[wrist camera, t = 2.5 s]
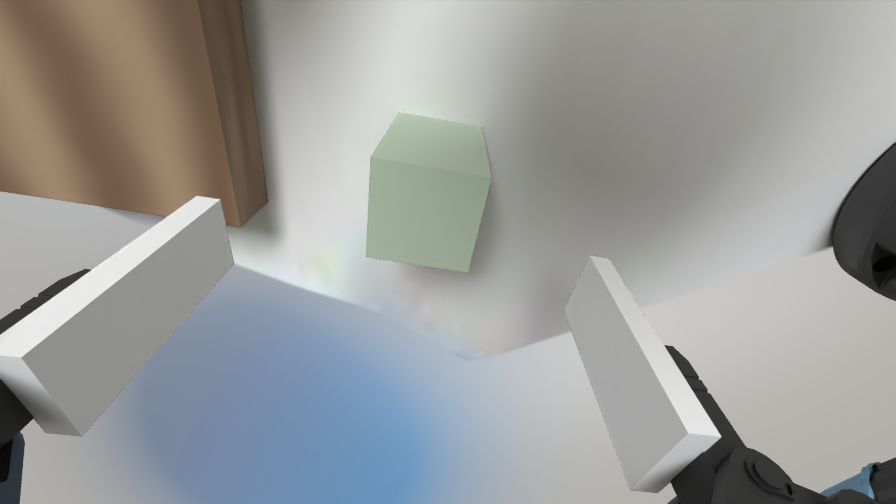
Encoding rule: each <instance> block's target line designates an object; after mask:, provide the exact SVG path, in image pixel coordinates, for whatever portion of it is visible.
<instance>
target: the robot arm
mask: <svg viewBox="0 0 896 504" xmlns="http://www.w3.org/2000/svg"><path fill="white" fill-rule="evenodd" d="M833 249H834V254H835V257H836V260H837V261H838V263H839V265H840V266H841V267H842V269H843V270H844V271H845V272H847V273H848V274H849V275H851V276H852V277H854V278H855V279H857V280H858V281H860V282H861V283H863V284H865V285H866V286H867V287H869V288H870V289H872V290H874V291H875V292H877V293H879V294H881V295H883V296H885V297H887V298H889V299H892V300H895V301H896V145H894V146H893V147H892V148H891V149H890V150H889V151H888V152H887V153H886V154H885V155H884V156H883V157H882V158H881V159H880V160H879V161H878V162H877V163H876V164H875V165H874V166H873V167H872V168H871V169H870V170H869V171H868V172H867V173H866V175H865V176H864V177H863V178H862V179H861V181H860V182H859V183H858V185H857V186H856V187H855V189H854V190H853V192H852V193H851V195H850V196H849V198H848V199H847V201H846V203H845V204H844V206H843V208H842V210H841V212H840V215H839V217H838V220H837V223H836V226H835V230H834V235H833ZM233 265H234V261H233V256H232V252H231V247H230V242H229V238H228V233H227V228H226V224H225V219H224V214H223V210H222V205H221V200H220V199H215V198H208V197H201V196H196V197H194V198H193V199H192V200H190V201H189V202H187V203H186V204H184V205H183V206H182V207H180V208H179V209H177V210H176V211H175V212H173V213H172V214H170V215H169V216H167V217H166V218H165V219H163V220H162V221H160V222H159V223H158V224H156V225H155V226H153V227H152V228H151V229H149V230H148V231H146V232H145V233H144V234H142V235H141V236H139V237H138V238H137V239H135V240H134V241H132V242H131V243H129V244H128V245H126V246H125V247H124V248H122V249H121V250H119V251H118V252H117V253H115V254H114V255H112V256H111V257H110V258H108V259H107V260H105V261H104V262H102V263H101V264H100V265H98V266H97V267H95V268H94V269H93V270H89V269H84V270H82V271H79V272H77V273H75V274H72V275H70V276H68V277H65V278H63V279H60V280H59V281H57V282H56V283H54V284H53V285H51V286H50V287H48V288H47V289H45V290H44V291H42V292H41V293H39V295H38V297H33V298H32V299H30V300H29V301H27V302H26V303H24V304H23V305H21V308H20V309H16V310H14V311H13V312H11V313H10V314H8V315H7V316H5V317H4V318H2V319H1V320H0V504H19V503H20V492H21V481H22V469H23V456H24V446H25V442H24V438H23V435H22V434H21V433H20V431H21V430H22V429H23V428H24V427H25V426H26V425H27V424H28V423H29V422H30V421H31V420H32V419H34V420H35V421H36V422H37V423H38V424H39V425H40V427H41V428H42V429H43V430H44V431H45V432H46V433H51V434H61V435H71V436H83V435H84V434H85V433H86V432H87V431H88V430H89V429H90V427H91V426H92V425H93V424H94V423H95V422H96V421H97V419H98V418H99V417H100V416H101V415H102V414H103V413H104V412H105V410H106V409H107V408H108V407H109V406H110V405H111V404H112V402H113V401H114V400H115V399H116V398H117V397H118V396H119V394H120V393H121V392H122V391H123V390H124V389H125V388H126V387H127V385H128V384H129V383H130V382H131V381H132V380H133V379H134V377H135V376H136V375H137V374H138V373H139V372H140V371H141V369H142V368H143V367H144V366H145V365H146V364H147V362H148V361H149V360H150V359H151V358H152V357H153V356H154V355H155V354H156V352H157V351H158V350H159V349H160V348H161V347H162V346H163V344H164V343H165V342H166V341H167V340H168V339H169V338H170V337H171V335H172V334H173V333H174V332H175V331H176V330H177V328H178V327H179V326H180V325H181V324H182V323H183V322H184V321H185V319H186V318H187V317H188V316H189V315H190V314H191V313H192V311H193V310H194V309H195V308H196V307H197V306H198V305H199V304H200V302H201V301H202V300H203V299H204V298H205V297H206V296H207V294H208V293H209V292H210V291H211V290H212V289H213V288H214V287H215V285H216V284H217V283H218V282H219V281H220V280H221V279H222V277H223V276H224V275H225V274H226V273H227V272H228V270H229V269H230V268H231V267H232V266H233ZM564 312H565V315H566V317H567V320H568V323H569V326H570V328H571V331H572V334H573V336H574V339H575V342H576V345H577V347H578V350H579V353H580V355H581V358H582V361H583V363H584V367H585V369H586V372H587V375H588V377H589V380H590V383H591V386H592V388H593V391H594V394H595V396H596V399H597V402H598V404H599V407H600V410H601V413H602V416H603V418H604V421H605V424H606V427H607V429H608V432H609V435H610V437H611V440H612V443H613V446H614V448H615V451H616V454H617V456H618V459H619V462H620V465H621V467H622V470H623V473H624V476H625V478H626V481H627V484H628V487H629V489H630V490H632V491H643V492H652V493H658V492H659V491H661V490H662V489H663V488H664V487H665V486H666V485H668V484H669V483H670V482H671V484H672V486H673V488H674V491H675V493H676V495H677V496H676V497H675V498H674V499H672V500H671V501H670V502H669V503H668V504H896V458H893V459H891V460H888V461H886V462H883V463H880V462H876V463H870V464H869V465H867V466H866V467H863V468H862V470H861V473H859V474H857V475H855V476H853V477H852V478H849V479H847V480H845V481H843V482H841V483H839V484H836V485H834V486H832V487H830V488H828V489H826V490H824V491H823V492H821V493H820V494H819V493H817V492H814V491H812V490H809V489H807V488H804V487H802V486H799V485H797V484H795V483H793V482H792V480H791V478H790V477H789V476H788V475H787V474H786V473H785V472H784V471H783V470H782V469H781V468H780V466H779V465H777V464H776V463H775V462H773V461H772V460H771V459H769V458H768V457H767V456H765V455H763V454H762V453H760V452H757V451H756V450H754V449H750V448H747V447H746V446H745V445H744V444H743V442H742V440H741V439H740V437H739V436H738V434H737V433H736V431H735V430H734V428H733V427H732V425H731V424H730V422H729V421H728V419H727V418H726V417H725V415H724V414H723V412H722V411H721V409H720V408H719V406H718V405H717V403H716V402H715V400H714V399H713V397H712V396H711V394H709V393H708V392H707V391H708V390H707V388H706V387H705V386H704V384H703V382H702V381H701V380H699V376H698V375H697V373H696V372H695V370H694V369H693V367H692V366H691V364H690V363H689V361H688V360H687V359H686V358H685V357H683V356H682V355H681V354H680V353H679V352H678V351H677V350H676V349H675V348H674V347H673V346H666V345H663V343H662V342H661V340H660V338H659V337H658V335H657V333H656V332H655V330H654V329H653V327H652V326H651V324H650V322H649V321H648V319H647V318H646V316H645V314H644V313H643V311H642V310H641V308H640V306H639V305H638V303H637V302H636V300H635V298H634V297H633V295H632V294H631V292H630V291H629V289H628V287H627V286H626V284H625V283H624V281H623V279H622V278H621V276H620V275H619V273H618V271H617V270H616V268H615V267H614V265H613V264H612V262H611V260H610V259H608V258H601V257H595V256H589V258H588V260H587V262H586V265H585V267H584V269H583V271H582V273H581V275H580V277H579V279H578V281H577V283H576V285H575V287H574V290H573V292H572V294H571V296H570V298H569V300H568V302H567V304H566V306H565V308H564Z"/></svg>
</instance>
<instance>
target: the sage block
mask: <svg viewBox="0 0 896 504" xmlns="http://www.w3.org/2000/svg"><path fill="white" fill-rule="evenodd" d="M491 179H492V176H491V170H490V165H489V160H488V155H487V150H486V145H485V139H484V134H483V129H482V127H478V126H473V125H467V124H462V123H456V122H451V121H445V120H440V119H434V118H429V117H423V116H418V115H412V114H407V113H401V112H399V113H398V115H397V116H396V118H395V120H394V121H393V123H392V124H391V126H390V127H389V129H388V131H387V132H386V134H385V135H384V137H383V138H382V140H381V141H380V143H379V145H378V146H377V148H376V149H375V151H374V152H373V154H372V156H371V161H370V182H369V204H368V225H367V247H366V257H368V258H374V259H381V260H387V261H394V262H401V263H407V264H414V265H420V266H427V267H433V268H440V269H446V270H453V271H459V272H466V273H468V271H469V267H470V263H471V259H472V255H473V251H474V247H475V243H476V239H477V235H478V231H479V227H480V223H481V219H482V215H483V211H484V207H485V203H486V199H487V195H488V191H489V187H490V183H491Z"/></svg>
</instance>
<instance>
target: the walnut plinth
mask: <svg viewBox="0 0 896 504" xmlns="http://www.w3.org/2000/svg"><path fill="white" fill-rule="evenodd" d="M0 191H2V192H9V193H15V194H22V195H29V196H35V197H42V198H49V199H55V200H62V201H69V202H76V203H82V204H88V205H95V206H102V207H108V208H115V209H122V210H128V211H135V212H142V213H148V214H155V215H162V216H169V215H170V214H172V213H173V212H175V211H176V210H177V209H179V208H180V207H182V206H183V205H184V204H186V203H187V202H189V201H190V200H192V199H193V198H194V197H196V196H201V197H208V198H215V199H220V200H221V205H222V210H223V214H224V219H225V224H226V225H228V226H235V227H242V226H243V225H244V224H245V223H246V222H247V221H248V220H249V219H250V218H251V217H252V216H253V215H254V214H255V213H257V212H258V211H259V210H260V209H261V208H262V207H263V206H264V205H265V204H266V203H267V202H268V198H267V191H266V183H265V176H264V169H263V161H262V154H261V147H260V140H259V132H258V125H257V118H256V111H255V103H254V96H253V89H252V82H251V74H250V67H249V60H248V52H247V45H246V38H245V31H244V23H243V16H242V9H241V2H240V0H0Z"/></svg>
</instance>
